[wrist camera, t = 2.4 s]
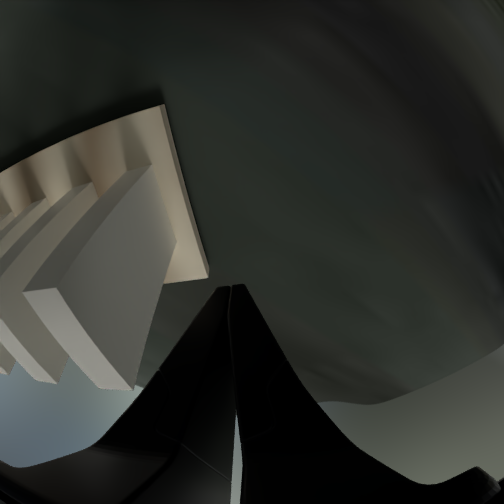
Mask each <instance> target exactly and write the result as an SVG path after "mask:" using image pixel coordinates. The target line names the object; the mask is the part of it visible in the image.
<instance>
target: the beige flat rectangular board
mask: <svg viewBox="0 0 504 504" xmlns="http://www.w3.org/2000/svg"><path fill="white" fill-rule="evenodd" d="M148 165H153V169H154V172H155V175H156V179H157V182H158V185H159V189H160V192H161V195H162V198H163V201H164V205H165V208H166V211H167V214H168V217H169V220H170V223H171V226H172V229H173V232H174V235H175V238H176V241H177V243H176V246H175V249H174V252H173V255H172V258H171V261H170V264H169V267H168V270H167V273H166V276H165V279H164V282H163V284H165V283H173V282H180V281H188V280H196V279H203V278H208V274H209V266H208V262H207V259H206V256H205V252H204V249H203V246H202V243H201V239H200V236H199V232H198V229H197V226H196V222H195V219H194V215H193V212H192V208H191V205H190V201H189V197H188V194H187V190H186V187H185V183H184V179H183V176H182V172H181V168H180V164H179V160H178V157H177V153H176V149H175V145H174V141H173V137H172V133H171V129H170V125H169V121H168V117H167V112H166V108H165V104H163V105H159V106H155V107H152V108H149V109H145V110H142V111H139V112H136V113H133V114H130V115H127V116H124V117H121V118H118V119H115V120H112V121H109V122H107V123H104V124H101V125H99V126H96V127H94V128H91V129H89V130H86V131H84V132H81V133H79V134H76V135H74V136H72V137H69V138H67V139H65V140H63V141H60V142H58V143H56V144H54V145H52V146H50V147H48V148H45V149H43V150H41V151H39V152H37V153H35V154H33V155H32V156H30V157H28V158H26V159H24V160H22V161H20V162H18V163H17V164H15V165H13V166H11V167H9V168H8V169H6V170H4V171H2V172H1V173H0V217H1V216H3V215H5V214H7V213H9V212H13V214H14V216H15V217H17V216H18V215H19V214H20V213H21V212H22V211H23V210H24V209H26V208H27V207H28V206H29V205H30V204H31V203H34V202H36V201H39V200H41V199H44V198H47V200H48V203H49V205H50V207H52V206H53V205H54V204H55V203H56V202H57V201H58V200H59V199H60V198H62V197H63V196H64V195H65V194H66V193H67V192H68V191H70V190H71V189H72V188H74V187H77V186H80V185H83V184H86V183H89V182H93V185H94V188H95V190H96V193H97V196H98V198H100V197H101V196H102V195H103V194H104V193H105V192H106V191H107V190H108V189H109V188H110V187H111V186H112V185H113V184H114V183H115V182H116V181H117V180H118V179H119V178H120V177H121V176H122V175H123V174H124V173H125V172H126V171H129V170H133V169H137V168H140V167H144V166H148Z"/></svg>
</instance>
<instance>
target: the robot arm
mask: <svg viewBox="0 0 504 504" xmlns="http://www.w3.org/2000/svg"><path fill="white" fill-rule="evenodd" d="M236 410H237V418H238V426H239V435H240V442H241V450H242V462H243V463H242V464H243V467H242V482H241V496H240V504H504V478H502V479H501V480H499V481H496V480H494V478H493V477H491V476H490V475H489V474H487V473H486V472H485V471H484V470H482V469H481V468H480V467H477V466H476V467H473V468H471V469H469V470H467V471H465V472H463V473H461V474H459V475H457V476H455V477H453V478H451V479H449V480H447V481H444V482H442V483H438V484H431V485H426V484H420V483H417V482H414V481H412V480H410V479H408V478H406V477H405V476H403V475H401V474H399V473H398V472H396V471H394V470H393V469H391V468H389V467H388V466H386V465H384V464H383V463H381V462H380V461H378V460H376V459H375V458H373V457H372V456H370V455H368V454H367V453H365V452H364V451H362V450H361V449H359V448H358V447H357V446H356V445H355V444H353V443H352V442H351V441H350V440H349V439H348V438H347V437H346V436H345V435H344V434H343V433H342V432H341V430H340V429H339V428H338V427H337V426H336V425H335V424H334V422H333V421H332V420H331V419H330V418H329V417H328V415H327V414H326V413H325V412H324V411H323V410H322V408H321V407H320V406H319V405H318V404H317V402H316V401H315V400H314V399H313V397H312V396H311V395H310V394H309V392H308V391H307V390H306V388H305V387H304V386H303V384H302V383H301V381H300V380H299V378H298V376H297V375H296V373H295V372H294V370H293V368H292V367H291V365H290V363H289V361H287V358H286V357H285V355H284V353H283V351H282V350H281V348H280V346H279V344H278V343H277V341H276V339H275V337H274V336H273V334H272V332H271V330H270V329H269V327H268V325H267V323H266V321H265V320H264V318H263V316H262V314H261V313H260V311H259V309H258V307H257V305H256V304H255V302H254V300H253V298H252V296H251V295H250V293H249V291H248V289H247V287H246V286H245V284H237V285H232V286H231V287H230V286H222V287H217V288H216V289H215V290H214V292H213V293H212V294H211V296H210V297H209V298H208V300H207V301H206V303H205V304H204V305H203V307H202V308H201V310H200V311H199V312H198V314H197V315H196V317H195V318H194V319H193V321H192V322H191V324H190V325H189V326H188V328H187V329H186V331H185V332H184V333H183V335H182V336H181V338H180V339H179V340H178V342H177V343H176V345H175V346H174V347H173V349H172V350H171V352H170V353H169V354H168V356H167V357H166V359H165V360H164V362H163V363H162V364H161V366H160V367H159V370H157V371H156V373H155V374H154V375H153V377H152V378H151V380H150V381H149V382H148V384H147V385H146V386H145V388H144V389H143V390H142V392H141V393H140V394H139V396H138V397H137V398H136V399H135V400H134V401H133V403H132V404H131V405H130V406H129V407H128V408H127V410H126V411H125V412H124V413H123V414H122V415H121V416H120V417H119V419H118V420H117V421H116V422H115V423H114V424H113V425H112V426H111V428H110V429H109V430H108V431H107V432H106V433H105V434H104V435H103V436H102V437H101V438H100V439H99V440H98V441H97V442H96V443H94V444H93V445H91V446H90V447H88V448H86V449H84V450H81V451H78V452H76V453H72V454H69V455H66V456H63V457H61V458H57V459H54V460H51V461H48V462H45V463H41V464H38V465H34V466H30V467H24V468H16V467H12V466H10V465H8V464H6V463H4V462H3V461H1V460H0V504H230V499H231V481H232V465H233V450H234V435H235V420H236Z"/></svg>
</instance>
